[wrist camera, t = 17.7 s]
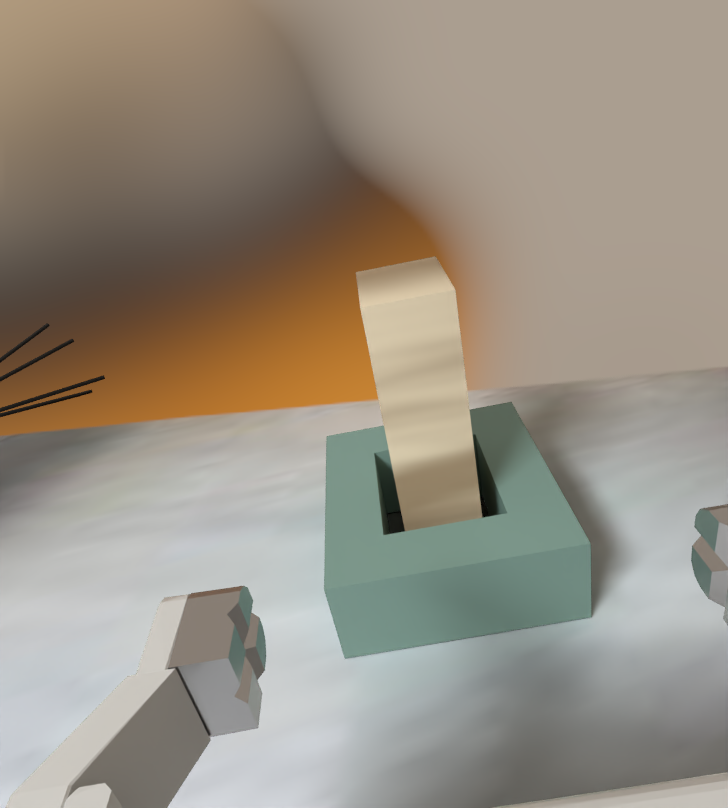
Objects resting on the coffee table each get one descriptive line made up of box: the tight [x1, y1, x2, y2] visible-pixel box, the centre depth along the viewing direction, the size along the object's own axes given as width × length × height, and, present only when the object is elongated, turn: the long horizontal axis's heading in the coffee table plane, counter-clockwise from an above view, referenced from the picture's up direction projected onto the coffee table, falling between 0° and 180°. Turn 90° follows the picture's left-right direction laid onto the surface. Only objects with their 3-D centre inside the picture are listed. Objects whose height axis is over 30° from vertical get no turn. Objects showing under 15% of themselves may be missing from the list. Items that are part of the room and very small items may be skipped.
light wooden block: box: [356, 257, 482, 531], centre depth 23 cm, size 4×3×12 cm
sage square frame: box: [324, 402, 591, 658], centre depth 25 cm, size 10×9×4 cm
